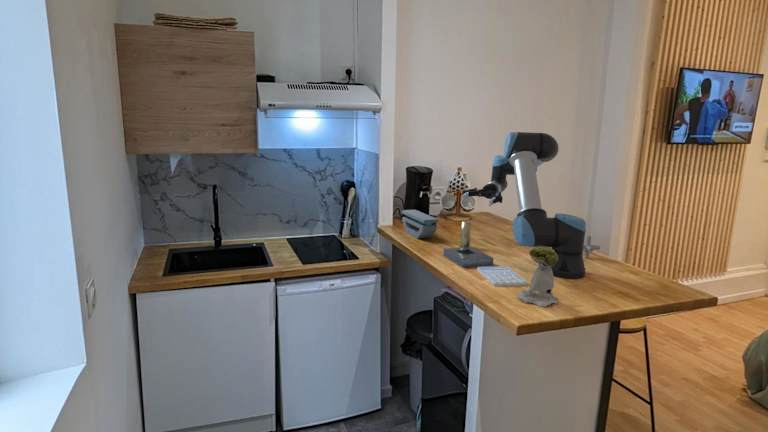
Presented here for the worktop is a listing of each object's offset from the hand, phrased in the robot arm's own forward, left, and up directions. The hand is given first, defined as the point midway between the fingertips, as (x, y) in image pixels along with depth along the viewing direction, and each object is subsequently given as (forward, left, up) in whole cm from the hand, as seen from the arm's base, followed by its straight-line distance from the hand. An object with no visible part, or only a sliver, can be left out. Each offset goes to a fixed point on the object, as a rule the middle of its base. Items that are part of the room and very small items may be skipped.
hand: (476, 200), depth 228 cm
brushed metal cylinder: (-4, +6, -21) cm, 23 cm away
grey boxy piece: (+22, +19, -22) cm, 36 cm away
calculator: (-46, +13, -22) cm, 53 cm away
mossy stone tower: (-70, +14, -22) cm, 74 cm away
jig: (-23, +15, -21) cm, 35 cm away
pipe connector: (-33, -39, -21) cm, 55 cm away
